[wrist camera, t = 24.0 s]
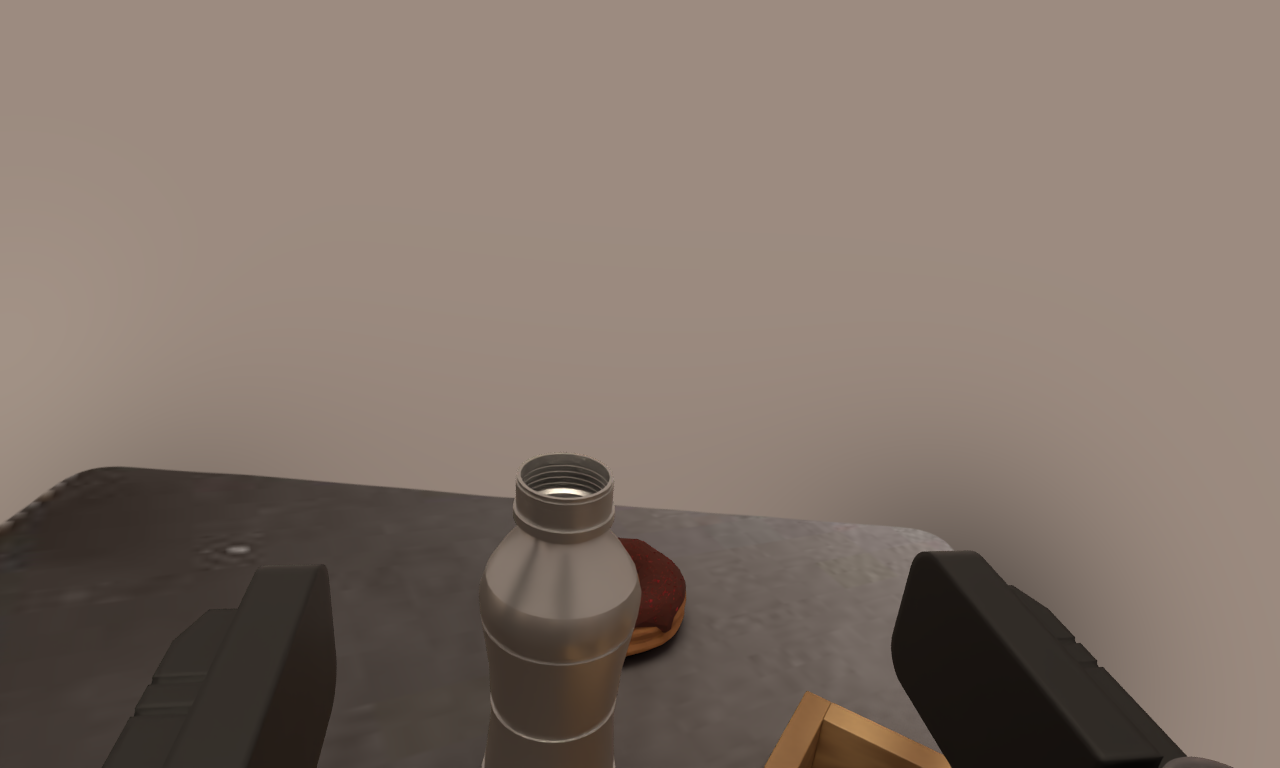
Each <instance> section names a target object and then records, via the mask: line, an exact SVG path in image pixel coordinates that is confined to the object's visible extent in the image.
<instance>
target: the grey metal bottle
mask: <svg viewBox="0 0 1280 768" xmlns="http://www.w3.org/2000/svg"><path fill="white" fill-rule="evenodd" d="M613 487H614V480H613V474H612V472H611V470H610V469H609V468H608V467H607V466H606V465H605V464H604V463H602V462H601V461H599V460H597V459H594V458H592V457H589V456H585V455H581V454H576V453H567V452H563V453H562V452H558V453H547V454H542V455H538V456H535V457H532V458H531V459H528V460H526V461H525V462H524V463H522V465H521V466H520V467H519V469H518V471H517V475H516V497H515V499H514V502H513V518H514V521H515V523H516V524H517V526H516V527H515V528H514V529H513V530H512V531H511V532H510V533H509V534H508V535H507V536H506V537H505V538H504V539H503V541H502V542H501V543H500V544H499V546H498V547H497V548H496V550H495V551H494V552H493V554H492V555H491V556H490V558H489V560H488V562H487V565H486V568H485V570H484V573H483V576H482V578H481V581H480V584H479V602H480V614H481V620H482V626H483V632H484V638H485V644H486V650H487V656H488V662H489V675H490V692H491V715H490V722H489V730H488V737H487V744H486V752H485V755H484V758H483V761H482V764H481V768H616V767H615V761H614V710H615V705H616V697H617V693H618V688H619V682H620V676H621V670H622V667H623V663H624V660H625V657H626V653H627V650H628V647H629V643H630V640H631V637H632V633H633V630H634V627H635V623H636V620H637V617H638V612H639V607H640V602H641V587H640V583H639V579H638V574H637V570H636V567H635V564H634V562H633V560H632V559H631V557H630V555H629V554H628V552H627V551H626V549H625V548H624V546H623V545H622V543H621V542H620V540H619V539H618V538H617V537H616V536H615V534H614V533H613V532H612V531H611V530H610V528H611V526H612V524H613V522H614V515H615V506H614V502H613Z"/></svg>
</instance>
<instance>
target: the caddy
mask: <svg viewBox="0 0 1280 768" xmlns="http://www.w3.org/2000/svg"><path fill="white" fill-rule="evenodd" d="M764 768H951V766H950V764H949V763H948V761H947V759H946V758H945V756H944V755H942V754H940V753H938V752H936V751H934V750H932V749H930V748H928V747H925V746H923V745H921V744H919V743H917V742H915V741H913V740H911V739H909V738H906V737H904V736H902V735H900V734H898V733H896V732H894V731H892V730H890V729H887V728H885V727H883V726H881V725H879V724H877V723H875V722H873V721H871V720H868V719H866V718H864V717H862V716H860V715H858V714H856V713H854V712H852V711H849V710H847V709H845V708H843V707H841V706H839V705H837V704H835V703H831V702H830V701H828V700H826V699H823V698H821V697H819V696H817V695H815V694H813V693H811V692H809V691H806V693H805V694H804V696H803V698H802V700H801V702H800V703H799V705H798V707H797V709H796V710H795V712H794V714H793V716H792V718H791V719H790V721H789V723H788V725H787V727H786V728H785V730H784V732H783V734H782V736H781V737H780V739H779V741H778V743H777V745H776V746H775V748H774V750H773V752H772V754H771V755H770V757H769V759H768V761H767V763H766V764H765V766H764Z"/></svg>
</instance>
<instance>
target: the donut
mask: <svg viewBox="0 0 1280 768" xmlns="http://www.w3.org/2000/svg"><path fill="white" fill-rule="evenodd" d="M618 539H619V540H620V542H621V543H622V545H623V546H624V548H625V549H626V551H627V552H628V554H629V555H630V557H631V559H632V560H633V562H634V564H635V567H636V570H637V574H638V579H639V583H640V587H641V602H640V607H639V612H638V617H637V620H636V623H635V627H634V630H633V633H632V637H631V640H630V643H629V647H628V650H627V653H626V656H630V655H634V654H638V653H641V652H645V651H648V650H650V649H653V648H655V647H658V646H660V645H662V644H664V643H665V642H667V641H668V640H669V639H670V638H672V637H673V636H674V635H675V634H676V632H677V630H678V629H679V627H680V625H681V622H682V620H683V616H684V607H685V603H686V585H685V580H684V578H683V576H682V574H681V572H680V569H679V568H678V567H677V566H676V565H675V563H673V562H672V560H670V559H669V558H667V557H666V556H664V555H663V553H660V552H658V551H657V550H655V549H654V548H652V547H651V546H650V545H648V544H647V543H646V542H644V541H642V540H638V539H626V538H625V539H624V538H618Z"/></svg>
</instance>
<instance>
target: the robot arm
mask: <svg viewBox="0 0 1280 768" xmlns="http://www.w3.org/2000/svg"><path fill="white" fill-rule="evenodd" d="M891 652H892V660H893V665H894V669H895V672H896V675H897V677H898V679H899V681H900V683H901V685H902V687H903V688H904V690H905V692H906V693H907V695H908V696H909V698H910V700H911V701H912V703H913V705H914V706H915V708H916V710H917V711H918V713H919V715H920V716H921V718H922V720H923V721H924V723H925V725H926V726H927V728H928V730H929V731H930V733H931V735H932V736H933V738H934V739H935V741H936V743H937V744H938V746H939V748H940V749H941V751H942V753H943V754H944V756H945V758H946V759H947V761H948V763H949V764H950V766H951V768H1233V767H1231V766H1228V765H1226V764H1223V763H1219V762H1217V761H1213V760H1209V759H1205V758H1198V757H1187V756H1186V755H1185V754H1184V753H1183V752H1182V750H1181V749H1180V748H1179V747H1178V746H1177V745H1176V744H1175V743H1174V742H1173V741H1172V740H1171V739H1170V738H1169V737H1168V736H1167V734H1165V732H1164V731H1163V730H1162V729H1161V728H1160V727H1159V726H1158V725H1157V724H1156V723H1155V722H1154V721H1153V720H1152V719H1151V717H1150V716H1149V715H1148V714H1147V713H1146V712H1145V711H1144V710H1143V709H1142V708H1141V707H1140V706H1139V705H1138V704H1137V703H1136V702H1135V700H1134V699H1133V698H1132V697H1131V696H1130V695H1129V694H1128V693H1127V692H1126V691H1125V690H1124V689H1123V688H1122V687H1121V686H1120V685H1119V683H1118V682H1117V681H1116V680H1115V679H1114V678H1113V677H1112V676H1111V675H1110V674H1109V673H1108V672H1107V671H1106V670H1105V669H1104V668H1103V667H1098V665H1097V660H1096V659H1095V658H1094V657H1093V656H1092V655H1091V654H1090V653H1089V652H1088V651H1087V649H1086V648H1085V647H1084V646H1083V645H1082V644H1081V643H1076V642H1075V637H1074V636H1073V635H1072V634H1071V633H1070V631H1069V630H1068V629H1067V628H1066V627H1065V626H1064V625H1063V624H1062V623H1061V622H1060V621H1059V620H1058V619H1057V618H1056V617H1055V616H1054V614H1053V613H1052V612H1051V611H1050V610H1049V609H1048V608H1046V607H1044V606H1043V605H1041V604H1040V603H1038V602H1037V601H1035V600H1034V599H1032V598H1031V597H1029V596H1028V595H1026V594H1025V593H1023V592H1022V591H1020V590H1019V589H1017V588H1016V587H1014V586H1012V585H1007V584H1006V582H1005V581H1004V580H1003V579H1002V578H1001V577H1000V576H999V575H998V574H997V573H996V572H995V570H994V569H993V568H992V567H991V566H990V565H989V564H988V563H987V562H986V560H985V559H984V558H983V557H982V556H981V555H979V554H978V553H976V552H974V551H930V552H921V553H919V554H917V555H916V557H915V558H914V560H913V562H912V565H911V568H910V572H909V575H908V579H907V583H906V586H905V590H904V594H903V597H902V601H901V605H900V609H899V612H898V616H897V620H896V623H895V627H894V631H893V635H892V642H891ZM335 686H336V650H335V639H334V628H333V618H332V607H331V596H330V586H329V576H328V571H327V568H326V566H325V565H324V564H311V565H269V566H260V567H259V568H258V569H257V570H256V572H255V574H254V576H253V578H252V580H251V582H250V584H249V586H248V589H247V591H246V593H245V595H244V597H243V599H242V601H241V603H240V605H239V607H238V609H212V610H208V611H207V612H206V613H204V614H203V615H202V616H201V617H200V618H199V619H198V620H196V621H195V622H194V623H193V624H192V625H191V626H189V627H188V628H187V629H186V630H185V631H184V632H183V633H181V634H180V635H179V636H178V637H177V638H176V639H175V640H173V642H172V643H171V645H170V647H169V649H168V650H167V652H166V654H165V656H164V658H163V659H162V661H161V663H160V665H159V667H158V668H157V670H156V672H155V674H154V675H153V677H152V684H151V685H148V686H147V688H146V690H145V692H144V693H143V695H142V697H141V699H140V700H139V702H138V704H137V706H136V708H135V714H134V717H130V718H129V720H128V722H127V724H126V725H125V727H124V729H123V731H122V733H121V734H120V736H119V738H118V740H117V741H116V743H115V745H114V747H113V749H112V750H111V752H110V754H109V756H108V758H107V759H106V761H105V763H104V765H103V766H102V768H317V764H318V760H319V756H320V753H321V749H322V745H323V741H324V737H325V734H326V730H327V726H328V722H329V719H330V715H331V711H332V706H333V701H334V695H335Z"/></svg>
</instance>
